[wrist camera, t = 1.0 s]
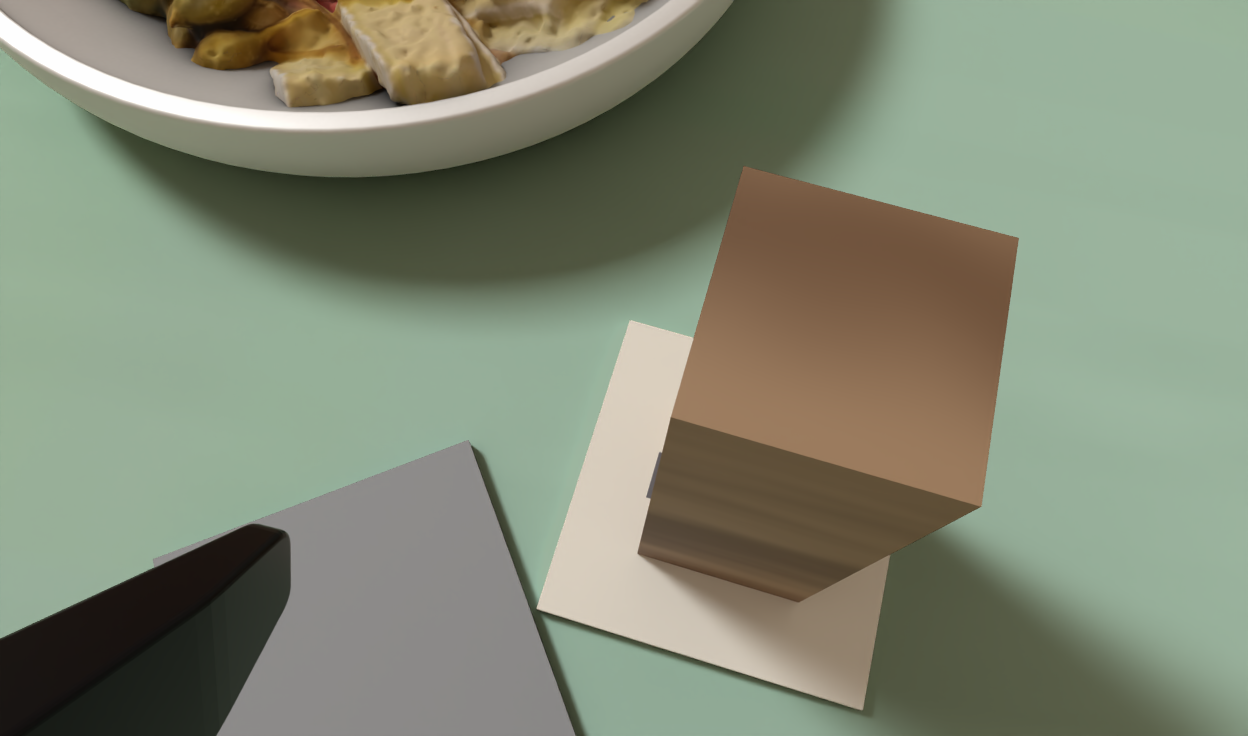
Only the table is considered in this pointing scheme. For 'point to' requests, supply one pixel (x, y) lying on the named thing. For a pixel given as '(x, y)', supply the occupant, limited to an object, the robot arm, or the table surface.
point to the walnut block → (830, 389)
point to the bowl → (350, 73)
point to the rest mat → (400, 617)
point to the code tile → (678, 597)
